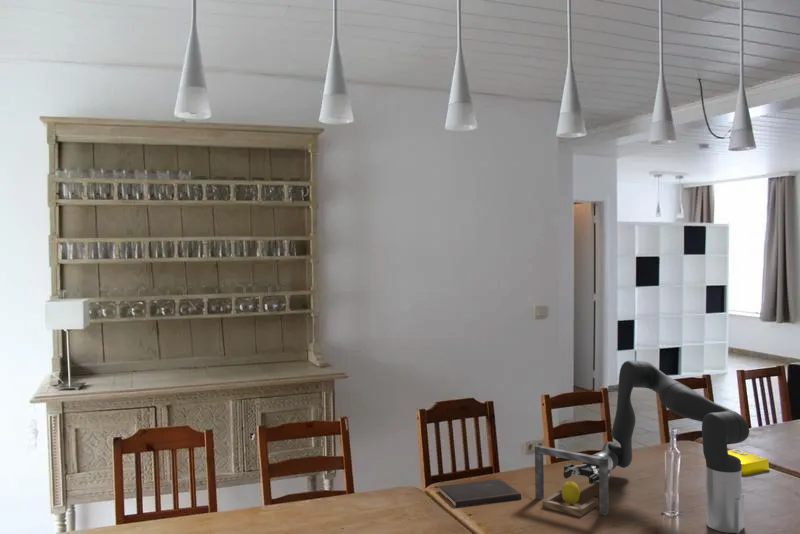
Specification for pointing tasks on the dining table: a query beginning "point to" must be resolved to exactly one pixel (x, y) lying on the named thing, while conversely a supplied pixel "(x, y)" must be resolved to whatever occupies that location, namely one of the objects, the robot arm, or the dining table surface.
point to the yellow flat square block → (750, 462)
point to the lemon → (570, 492)
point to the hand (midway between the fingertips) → (577, 478)
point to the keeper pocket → (552, 500)
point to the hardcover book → (479, 492)
